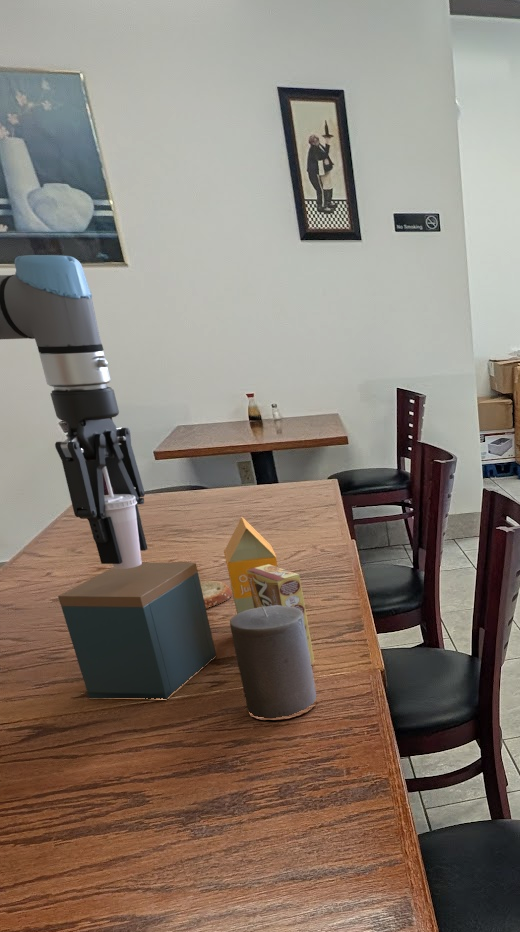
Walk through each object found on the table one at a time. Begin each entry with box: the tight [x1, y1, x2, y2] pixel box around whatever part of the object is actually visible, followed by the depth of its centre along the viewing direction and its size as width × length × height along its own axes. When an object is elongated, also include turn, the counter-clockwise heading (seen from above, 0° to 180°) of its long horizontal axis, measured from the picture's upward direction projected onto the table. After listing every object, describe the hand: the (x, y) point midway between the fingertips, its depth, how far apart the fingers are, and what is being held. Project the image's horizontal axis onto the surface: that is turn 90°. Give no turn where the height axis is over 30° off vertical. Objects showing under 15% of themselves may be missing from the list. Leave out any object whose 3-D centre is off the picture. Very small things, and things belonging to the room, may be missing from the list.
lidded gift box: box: [57, 562, 217, 699], centre depth 124 cm, size 12×16×16 cm
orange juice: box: [223, 516, 279, 615], centre depth 138 cm, size 8×9×20 cm
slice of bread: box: [200, 580, 233, 610], centre depth 156 cm, size 18×18×4 cm
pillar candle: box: [229, 605, 317, 718], centre depth 114 cm, size 10×10×15 cm
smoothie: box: [102, 466, 143, 569], centre depth 117 cm, size 6×6×14 cm
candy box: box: [247, 564, 315, 664], centre depth 128 cm, size 9×4×15 cm, turn 50°
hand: (125, 556), depth 119 cm, fingers closed on smoothie, 6 cm apart
